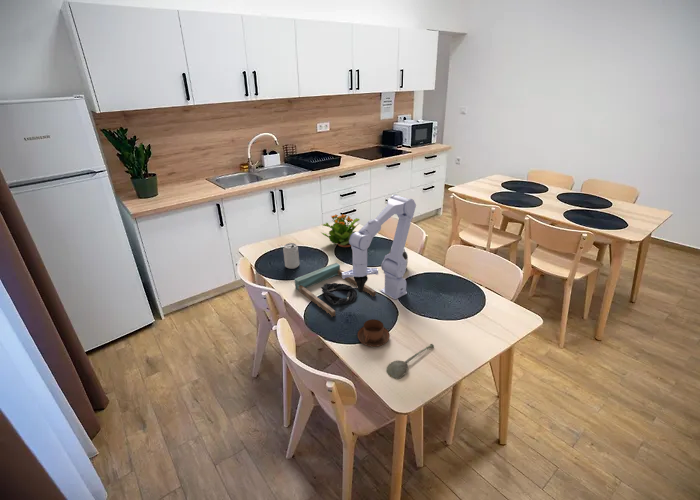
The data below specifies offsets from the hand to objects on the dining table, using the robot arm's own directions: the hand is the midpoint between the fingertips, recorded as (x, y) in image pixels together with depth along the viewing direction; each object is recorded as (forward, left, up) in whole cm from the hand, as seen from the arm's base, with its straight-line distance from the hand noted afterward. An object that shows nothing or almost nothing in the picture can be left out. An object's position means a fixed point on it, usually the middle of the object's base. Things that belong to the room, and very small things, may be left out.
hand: (360, 290), depth 147 cm
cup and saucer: (-17, +8, -10) cm, 21 cm away
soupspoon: (-34, +6, -10) cm, 36 cm away
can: (+52, +2, -10) cm, 53 cm away
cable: (+15, 0, -10) cm, 18 cm away
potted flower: (+54, -35, -10) cm, 65 cm away
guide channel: (+18, 0, -9) cm, 20 cm away
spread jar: (+14, -35, -10) cm, 39 cm away
